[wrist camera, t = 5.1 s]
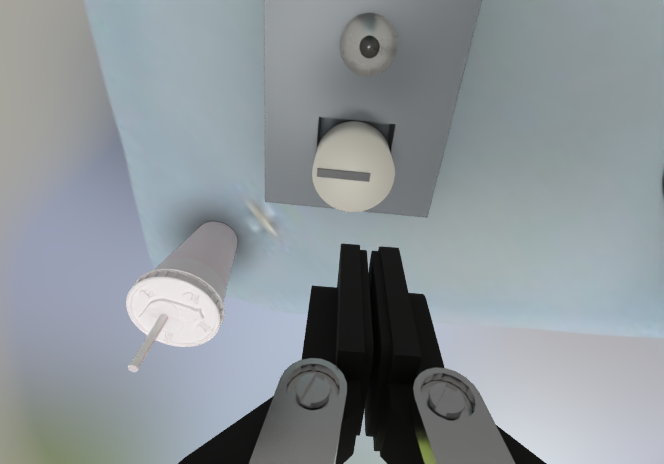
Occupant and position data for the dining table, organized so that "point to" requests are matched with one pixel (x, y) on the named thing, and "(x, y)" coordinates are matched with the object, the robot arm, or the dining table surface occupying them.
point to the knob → (353, 167)
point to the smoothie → (184, 291)
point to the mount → (362, 92)
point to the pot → (368, 44)
